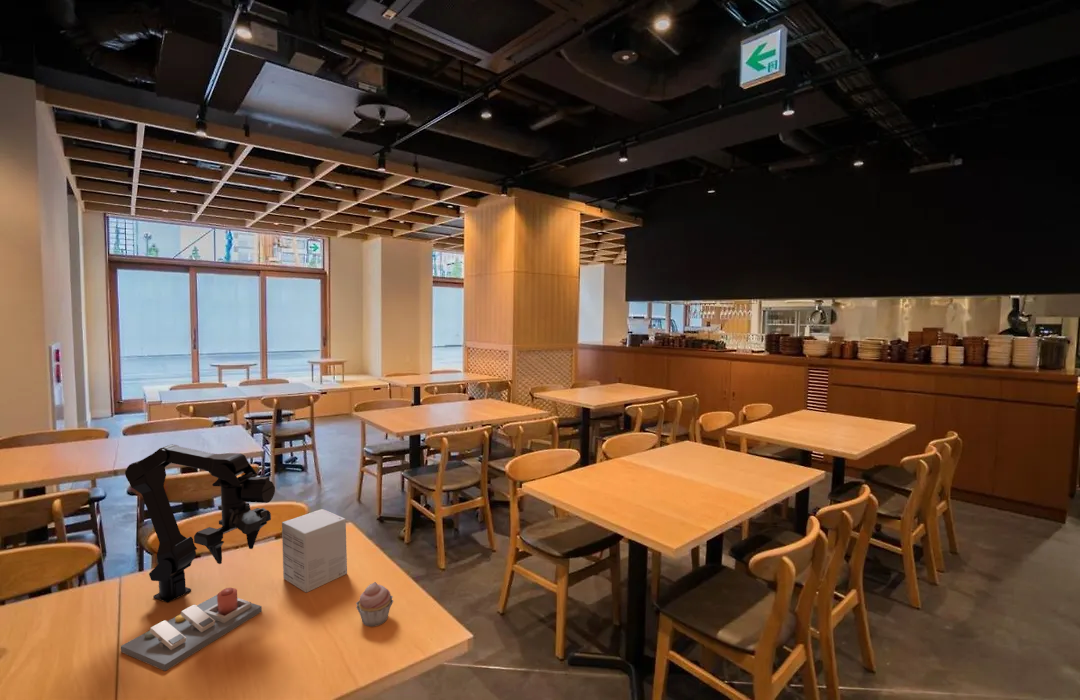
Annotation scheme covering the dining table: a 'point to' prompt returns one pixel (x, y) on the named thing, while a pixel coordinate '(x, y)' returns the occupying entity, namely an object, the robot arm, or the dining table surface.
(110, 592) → the dining table surface
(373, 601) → the cupcake
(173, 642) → the breaker
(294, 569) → the supplement box
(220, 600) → the cap
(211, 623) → the block
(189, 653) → the panel
